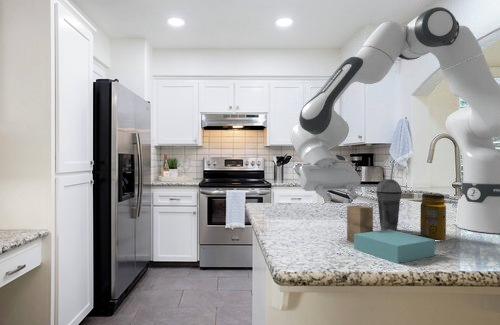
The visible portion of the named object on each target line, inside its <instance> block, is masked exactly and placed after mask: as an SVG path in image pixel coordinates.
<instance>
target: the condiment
mask: <svg viewBox="0 0 500 325" xmlns="http://www.w3.org/2000/svg"><path fill="white" fill-rule="evenodd" d="M421 196H422V199H421V204H420V218H419V219H420V220H419V223H420V224H419V226H420V231H419V234H415V235H416V236H420V237H425V238H429V239H434V240H440V241H435V244H436V243H440V242H444V241H448V240H449V241H450V240H452V239H453V238H452V237H449V236H447V234H446V233H447V228H446V227H447V218H446V217H447V207H446V204H445V195H444V194H441V193H422V195H421Z"/></svg>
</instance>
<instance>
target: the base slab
mask: <svg viewBox="0 0 500 325" xmlns="http://www.w3.org/2000/svg"><path fill="white" fill-rule="evenodd" d="M416 235H417V234H412V233H411V234H410V233H407V232H403V231H398V230H397V231H394V230H381V229H380V230H376V231H374V230H373V232H366V233H359V234H354V242H353V249H354V250H356V251H358V252H359V251H360V252H362V253H365V254H369V255H372V256H375V257H378V258H381V259H383V260H386V259H387V261H389V262H393V263H396V264H400V262H401V263H406V262H410V261H416V260H420V259H425V257H426V258H430V256H431V257H435V256H436V242H435V240H434V239H429V238H425V237H420V236H416ZM434 255H435V256H434Z"/></svg>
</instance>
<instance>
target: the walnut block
mask: <svg viewBox="0 0 500 325" xmlns="http://www.w3.org/2000/svg"><path fill="white" fill-rule="evenodd" d="M346 208H347V209H346V212H347V213H346V232H347V233H346V240H347V241H348V242H352V243H354V234H359V233H366V232H374V208H373V207H372V206H367V205H362V204H359V205H347V206H346Z"/></svg>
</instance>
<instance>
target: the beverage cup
mask: <svg viewBox="0 0 500 325" xmlns="http://www.w3.org/2000/svg"><path fill="white" fill-rule="evenodd" d="M394 165H395V164H391V169H390V170H391V171H390V178H389V179H387V178H385V179H382V180H381V181H380V182H378V184H377V186H376V191H375V193H376V198H377V204H378V205H377V206H378V215H379V216H378V218H379V225H380V231H381V230H394V231H398V226H399V217H400V216H399V215H400V205H401V198H402V194H403V192H402V187H401V185H400V184H399V183H398V181H397V180H395V179H393V174H394Z"/></svg>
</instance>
